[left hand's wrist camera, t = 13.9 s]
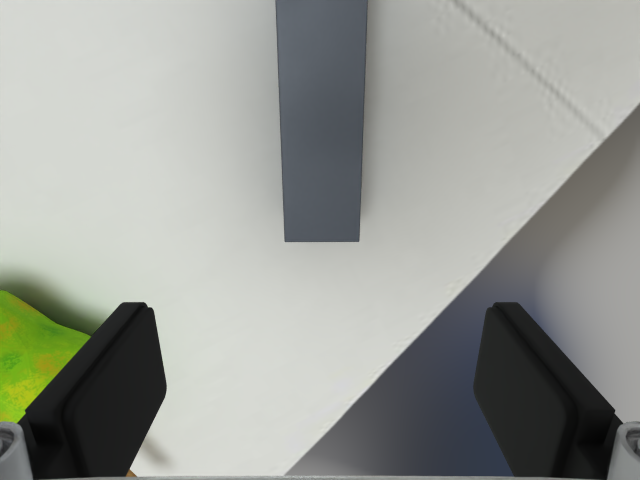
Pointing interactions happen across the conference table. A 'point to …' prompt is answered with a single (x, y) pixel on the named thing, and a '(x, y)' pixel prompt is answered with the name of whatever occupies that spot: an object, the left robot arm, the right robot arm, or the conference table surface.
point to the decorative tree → (30, 355)
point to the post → (321, 116)
